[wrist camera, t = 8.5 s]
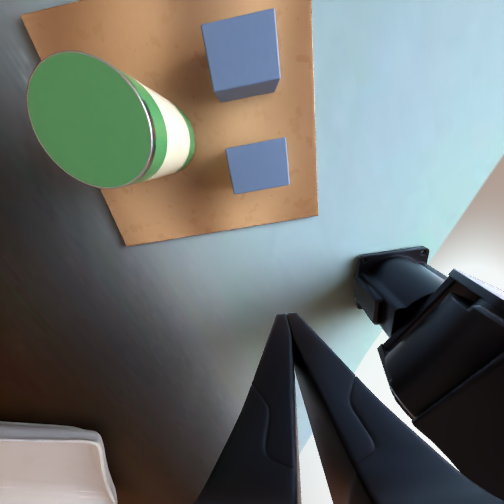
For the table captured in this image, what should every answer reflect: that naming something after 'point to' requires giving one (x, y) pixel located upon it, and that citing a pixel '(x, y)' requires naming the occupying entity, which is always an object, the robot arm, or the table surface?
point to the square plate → (53, 465)
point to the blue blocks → (248, 91)
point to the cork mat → (198, 108)
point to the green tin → (105, 122)
